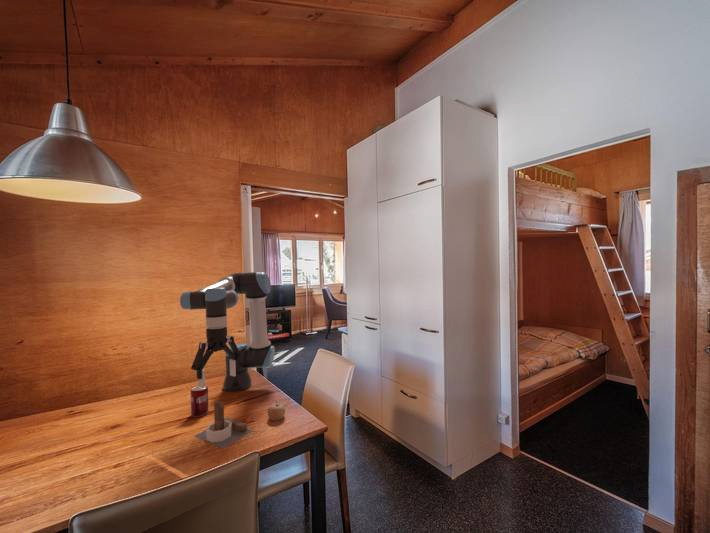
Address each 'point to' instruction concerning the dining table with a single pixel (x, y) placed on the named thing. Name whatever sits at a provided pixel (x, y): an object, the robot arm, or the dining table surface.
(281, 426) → the dining table surface
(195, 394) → the soda can
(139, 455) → the dining table surface
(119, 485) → the dining table surface
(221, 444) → the slate board
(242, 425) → the bar
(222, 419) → the brown wooden bar
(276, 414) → the fruit
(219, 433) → the white octagonal bowl
